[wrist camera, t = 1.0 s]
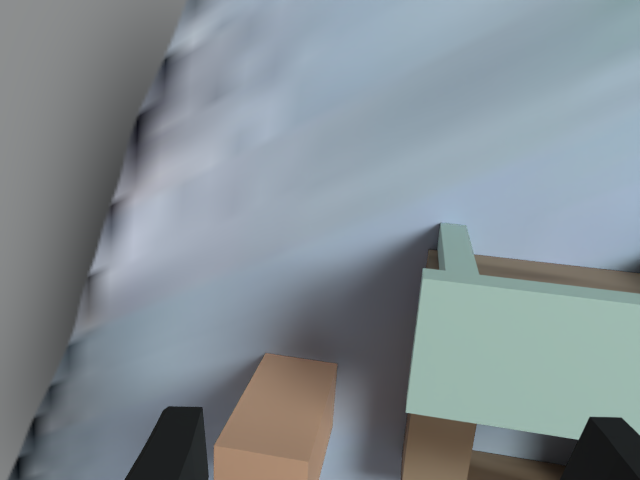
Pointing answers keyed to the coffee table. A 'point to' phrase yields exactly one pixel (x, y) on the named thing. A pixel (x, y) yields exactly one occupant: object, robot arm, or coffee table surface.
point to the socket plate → (457, 437)
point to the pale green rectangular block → (521, 348)
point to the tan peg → (279, 422)
